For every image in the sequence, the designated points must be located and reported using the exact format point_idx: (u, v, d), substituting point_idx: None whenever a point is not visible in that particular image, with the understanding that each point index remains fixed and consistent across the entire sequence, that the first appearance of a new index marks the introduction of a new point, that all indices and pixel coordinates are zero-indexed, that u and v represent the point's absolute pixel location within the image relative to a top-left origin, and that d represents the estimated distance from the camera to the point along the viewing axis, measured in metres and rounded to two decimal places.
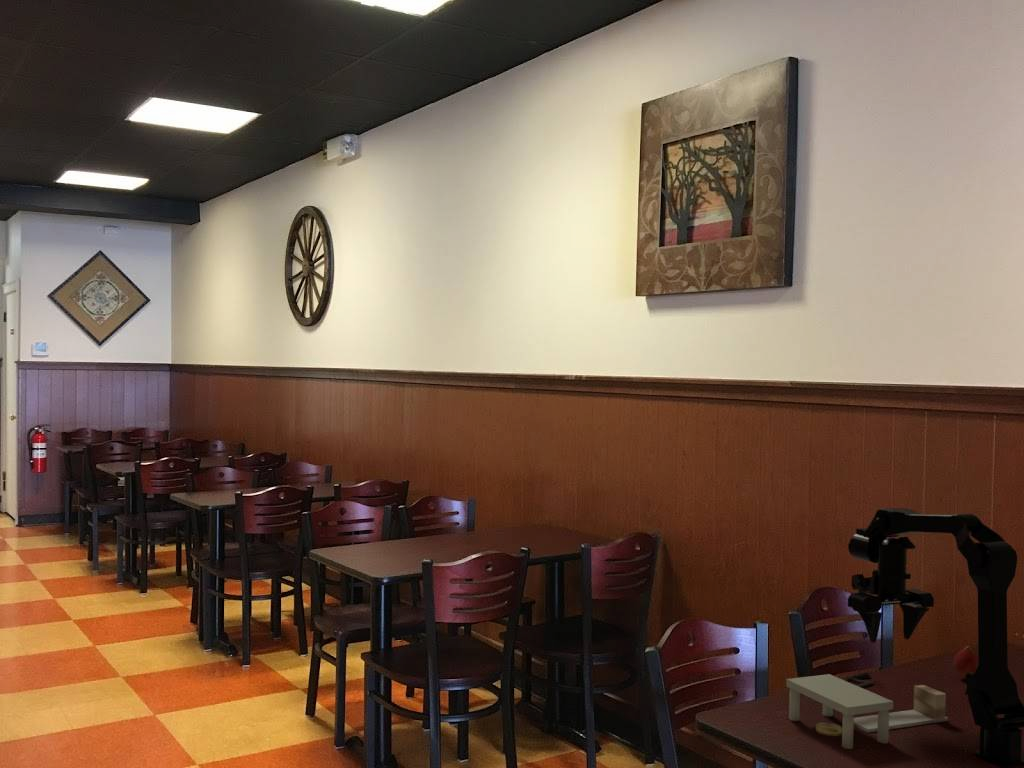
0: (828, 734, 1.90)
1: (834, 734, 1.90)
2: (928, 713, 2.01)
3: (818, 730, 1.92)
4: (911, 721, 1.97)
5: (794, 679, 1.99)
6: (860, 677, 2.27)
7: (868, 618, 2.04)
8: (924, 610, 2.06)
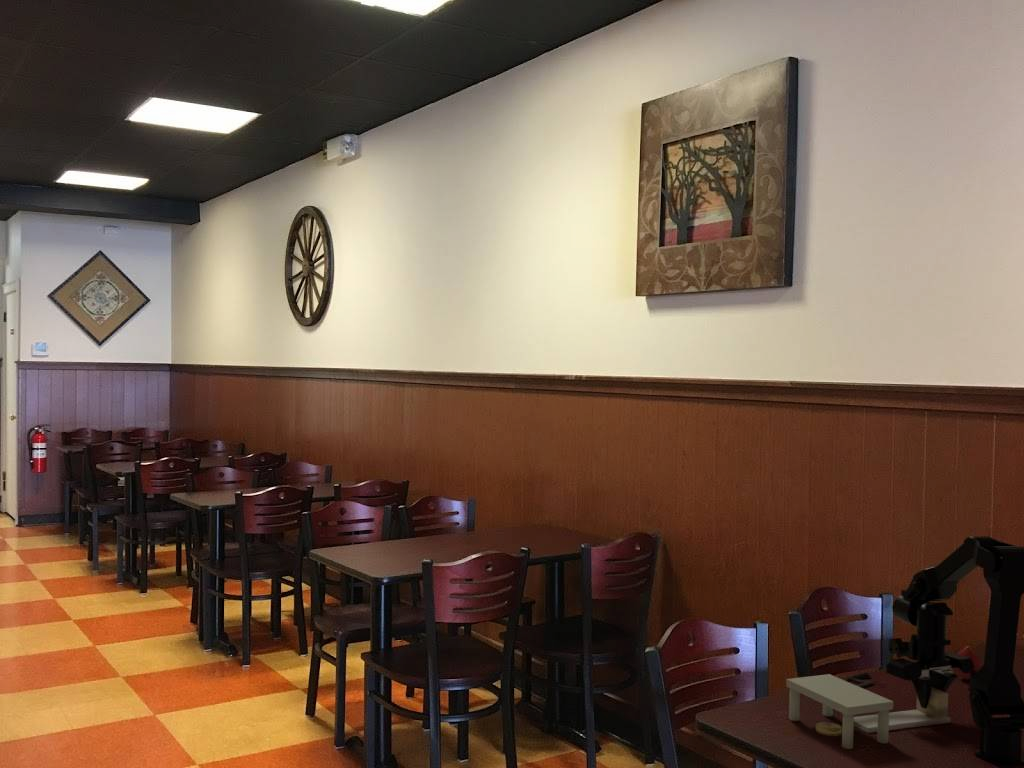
0: (829, 734, 1.90)
1: (835, 734, 1.90)
2: (930, 713, 2.00)
3: (818, 730, 1.92)
4: (913, 721, 1.97)
5: (794, 679, 1.99)
6: (860, 677, 2.27)
7: (919, 683, 2.02)
8: (953, 677, 2.01)
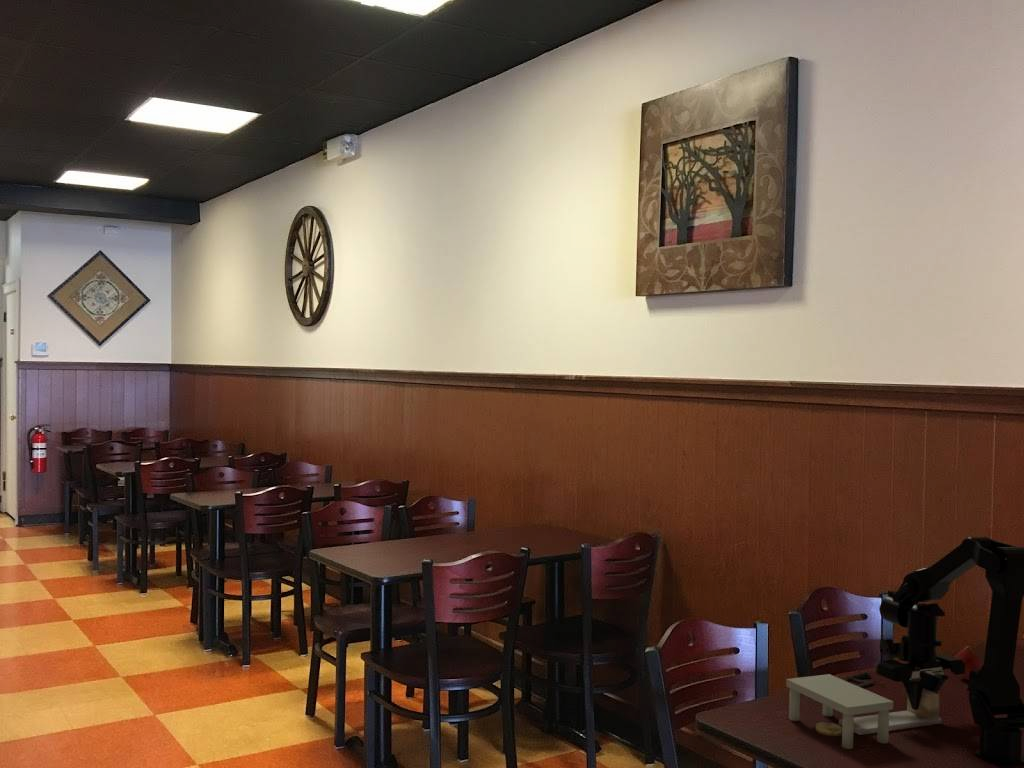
0: (830, 733, 1.90)
1: (836, 733, 1.90)
2: (922, 714, 1.99)
3: (820, 730, 1.91)
4: (904, 722, 1.96)
5: (794, 679, 1.99)
6: (860, 677, 2.27)
7: (910, 685, 2.01)
8: (943, 679, 2.00)
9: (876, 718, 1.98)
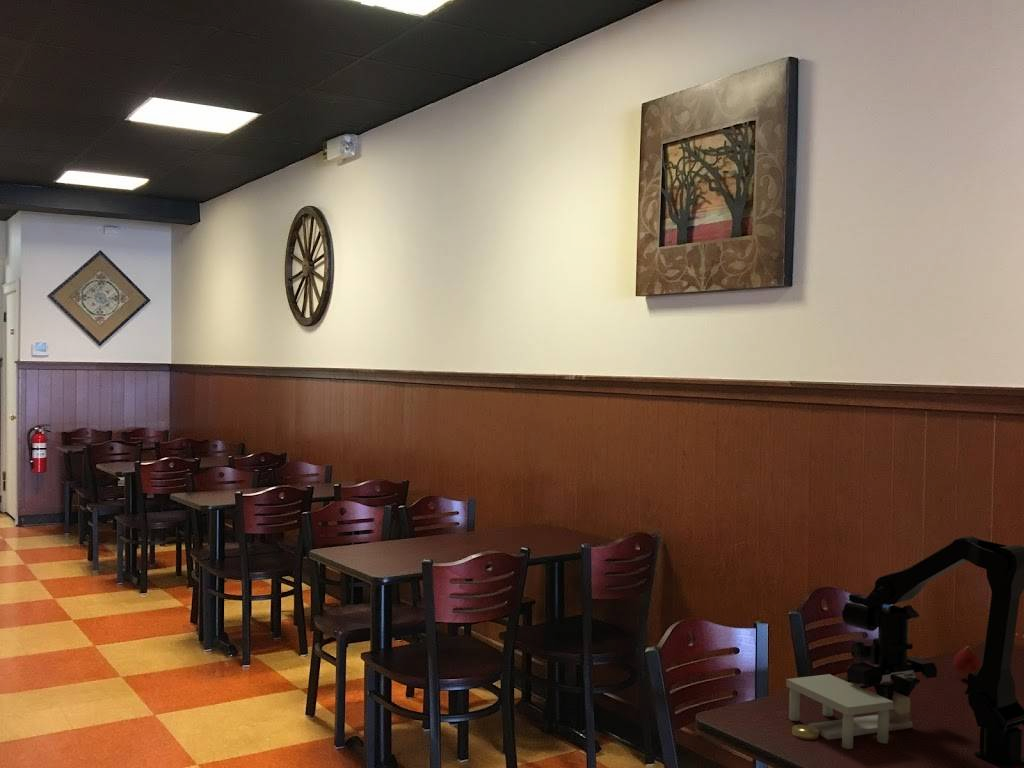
0: (807, 737, 1.88)
1: (813, 736, 1.88)
2: (892, 718, 1.96)
3: (796, 733, 1.89)
4: (874, 727, 1.93)
5: (794, 679, 1.99)
6: None
7: (880, 688, 1.98)
8: (915, 682, 1.97)
9: None
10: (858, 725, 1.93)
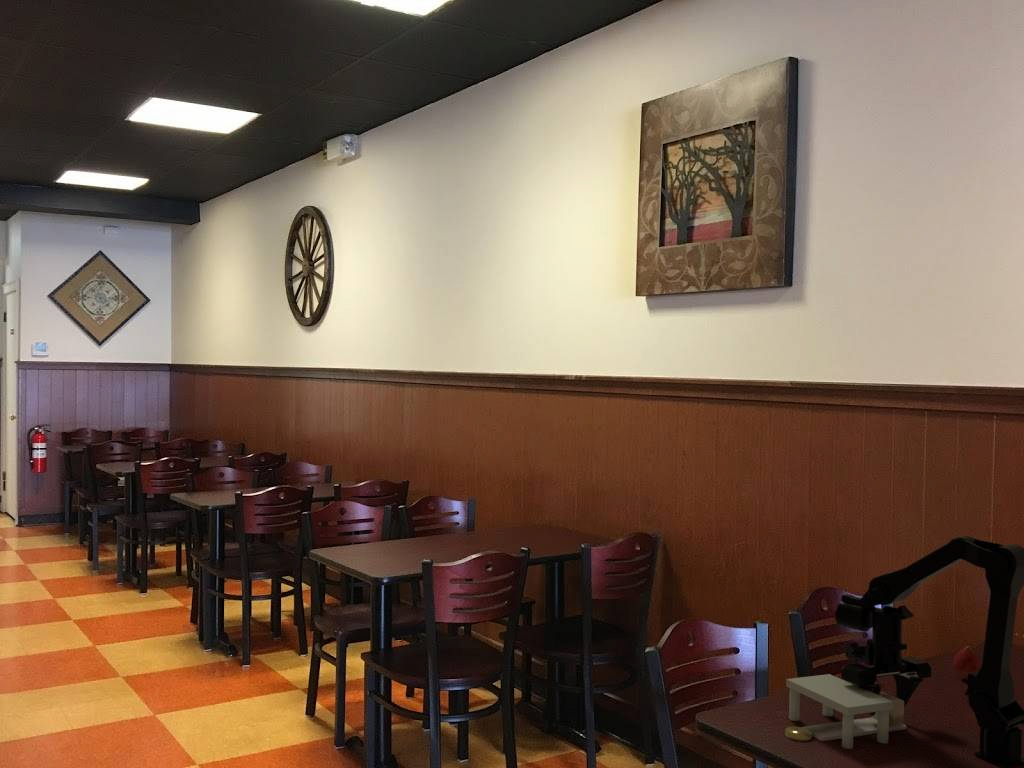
0: (800, 739, 1.87)
1: (806, 739, 1.87)
2: None
3: (789, 735, 1.88)
4: (868, 730, 1.92)
5: (794, 679, 1.99)
6: None
7: None
8: (918, 681, 1.97)
9: (840, 725, 1.94)
10: None
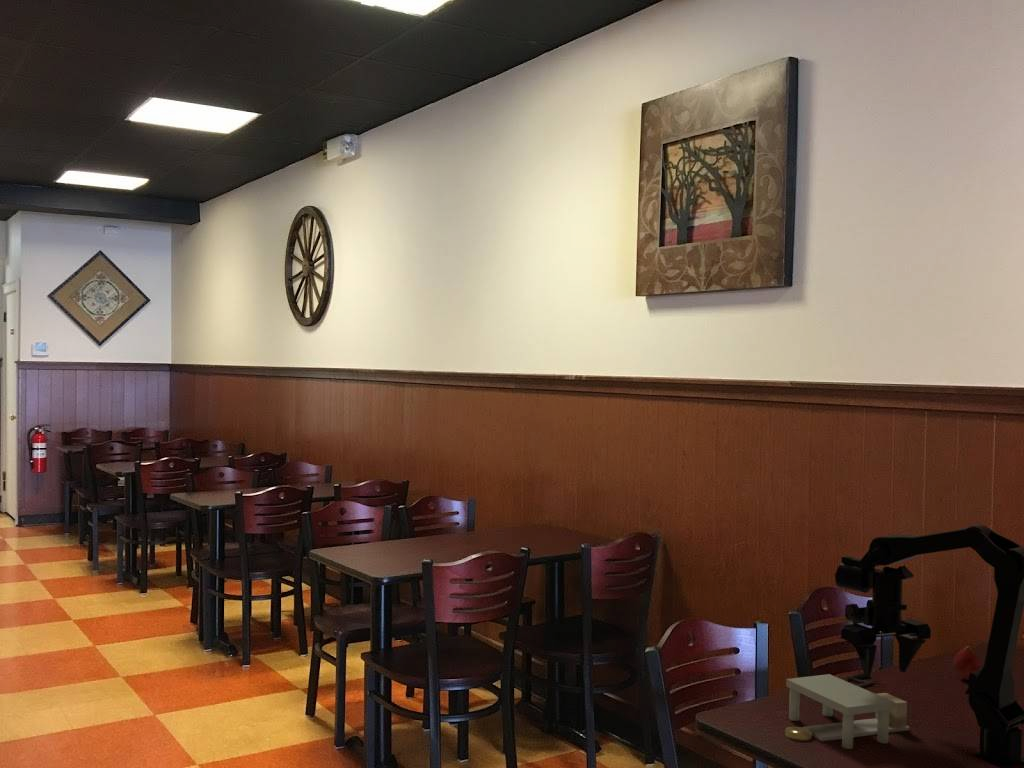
0: (800, 738, 1.87)
1: (805, 738, 1.87)
2: (889, 722, 1.95)
3: (789, 735, 1.88)
4: (870, 730, 1.92)
5: (794, 679, 1.99)
6: (860, 677, 2.27)
7: (862, 651, 1.96)
8: (920, 642, 1.98)
9: None
10: (853, 729, 1.92)
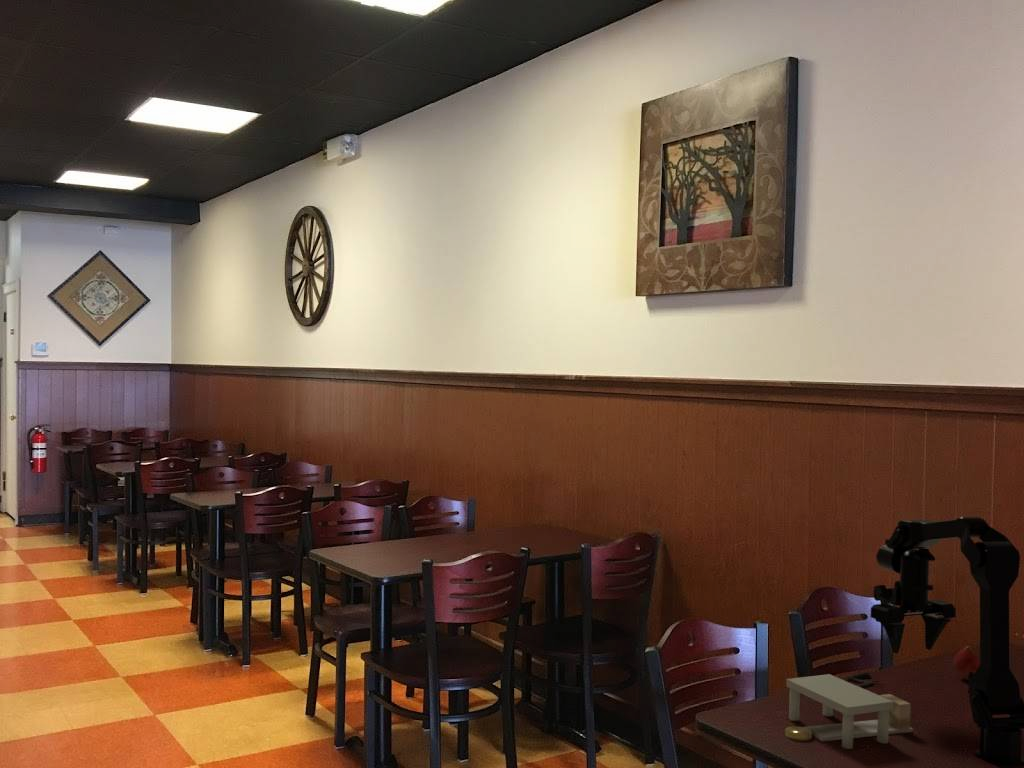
0: (798, 738, 1.87)
1: (804, 738, 1.87)
2: (892, 723, 1.94)
3: (788, 735, 1.89)
4: (872, 731, 1.91)
5: (794, 679, 1.99)
6: (860, 677, 2.28)
7: (891, 629, 2.06)
8: (946, 621, 2.08)
9: None
10: (855, 729, 1.92)
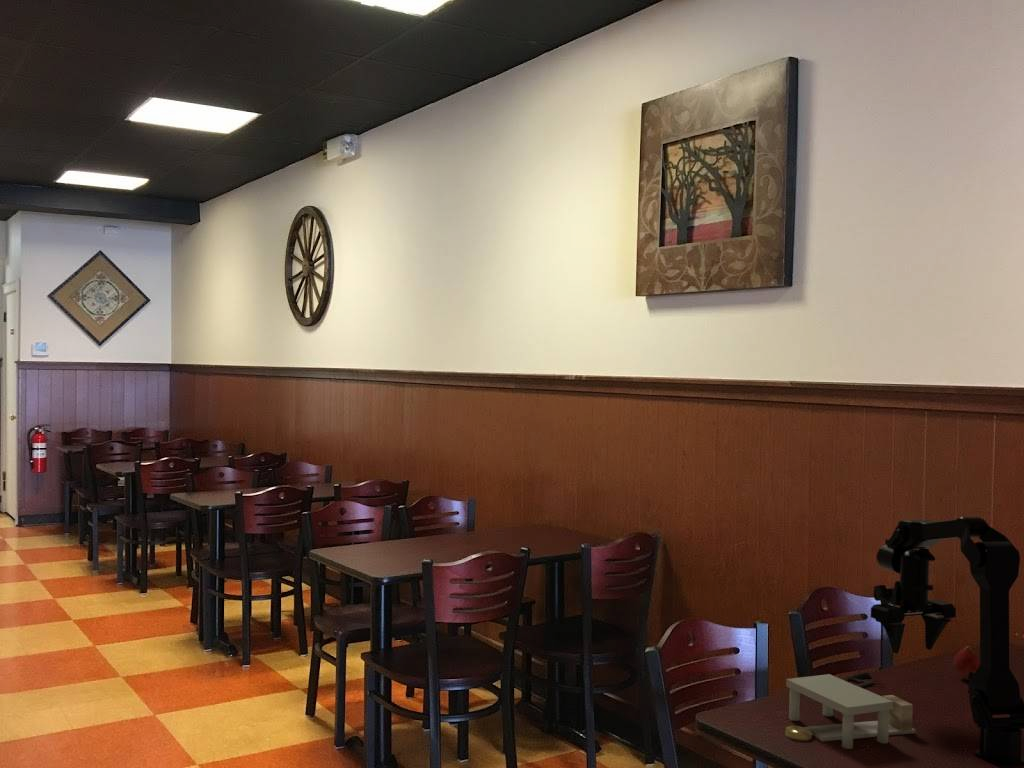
0: (796, 738, 1.87)
1: (802, 738, 1.87)
2: (894, 724, 1.94)
3: (787, 733, 1.89)
4: (873, 732, 1.91)
5: (794, 679, 1.99)
6: (860, 677, 2.28)
7: (891, 629, 2.06)
8: (946, 621, 2.08)
9: None
10: (857, 730, 1.92)
